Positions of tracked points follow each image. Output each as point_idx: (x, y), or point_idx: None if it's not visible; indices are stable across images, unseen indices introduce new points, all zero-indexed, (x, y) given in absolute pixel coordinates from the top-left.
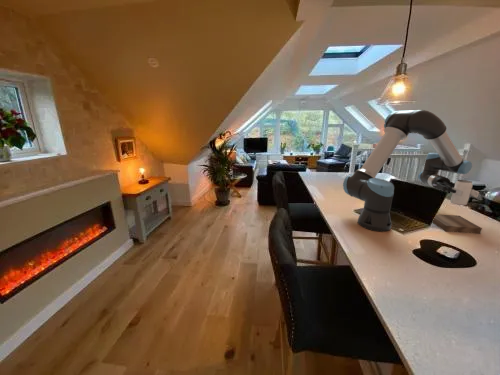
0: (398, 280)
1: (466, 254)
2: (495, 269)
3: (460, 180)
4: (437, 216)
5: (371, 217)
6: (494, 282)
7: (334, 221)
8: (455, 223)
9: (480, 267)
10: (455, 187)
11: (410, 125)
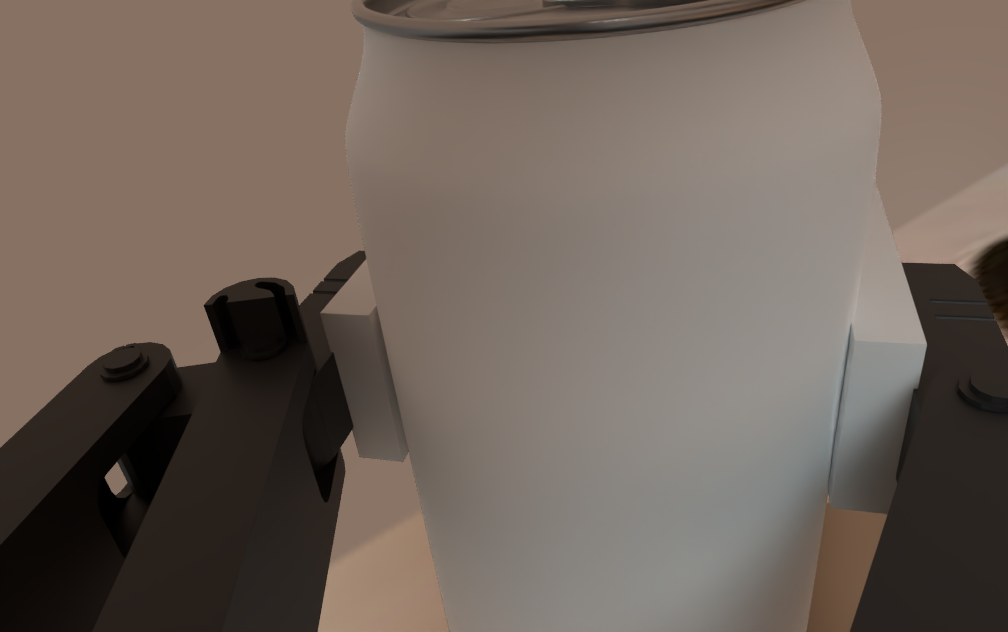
0: None
1: (997, 296)
2: (907, 223)
3: (584, 48)
4: None
5: None
6: (989, 177)
7: None
8: (820, 585)
9: (986, 228)
10: (863, 258)
11: None
